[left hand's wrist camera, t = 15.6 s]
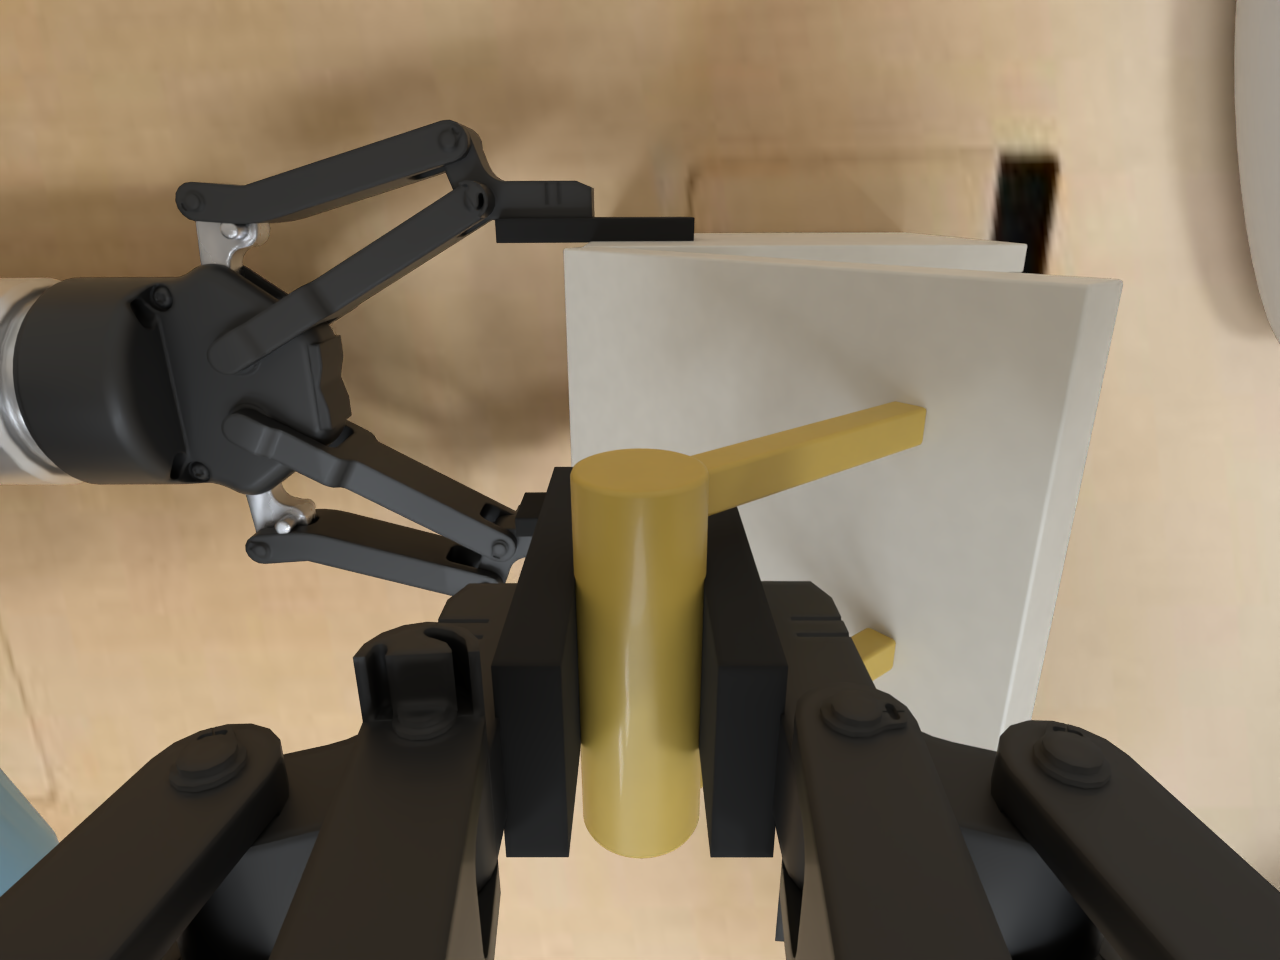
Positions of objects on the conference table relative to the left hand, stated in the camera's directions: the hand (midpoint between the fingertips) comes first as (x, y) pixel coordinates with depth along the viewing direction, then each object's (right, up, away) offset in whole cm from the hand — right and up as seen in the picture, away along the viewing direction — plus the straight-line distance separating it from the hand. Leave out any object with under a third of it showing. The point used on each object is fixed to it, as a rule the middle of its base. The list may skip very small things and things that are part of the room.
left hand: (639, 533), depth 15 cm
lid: (+3, +1, +4) cm, 5 cm away
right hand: (+2, +5, +13) cm, 14 cm away
